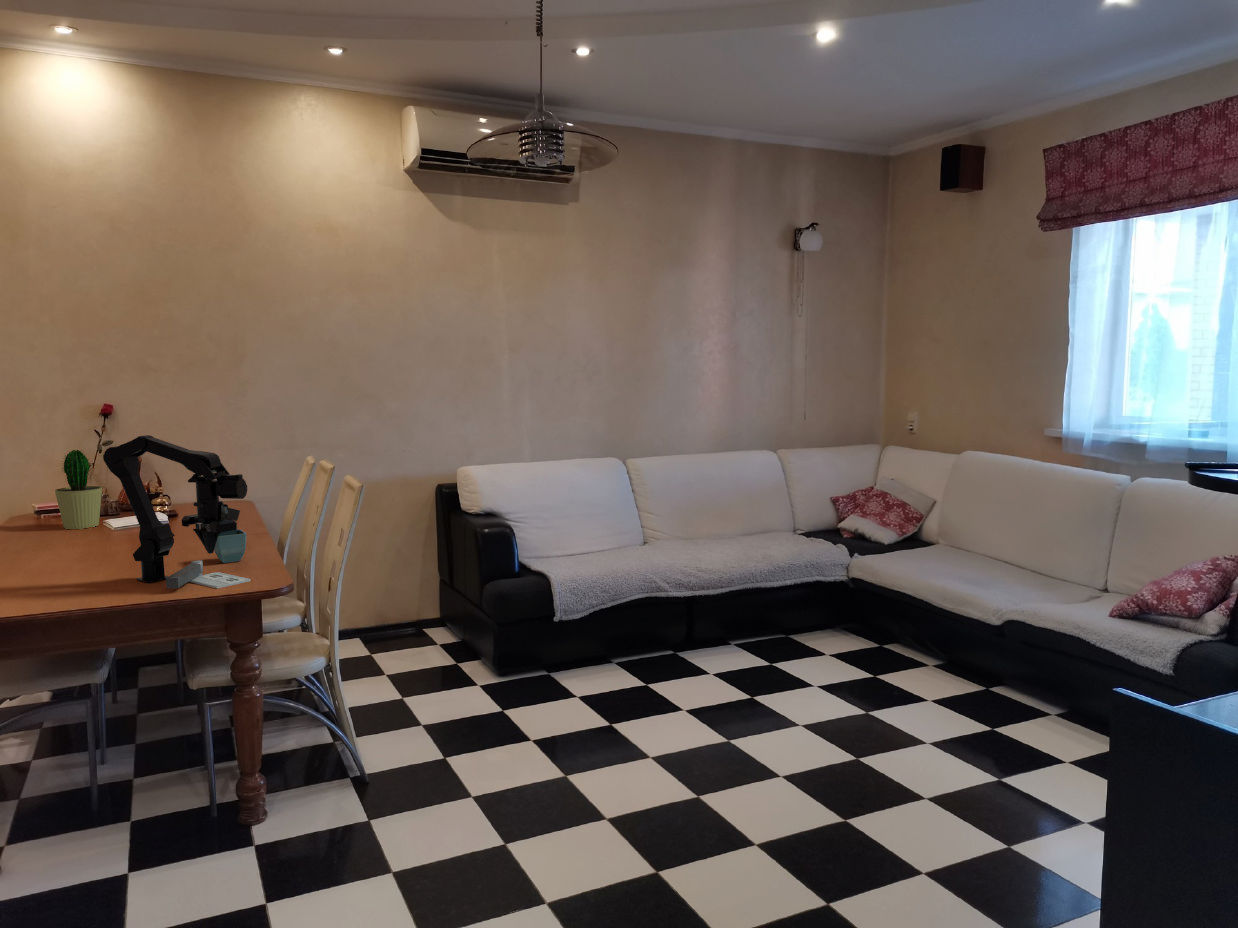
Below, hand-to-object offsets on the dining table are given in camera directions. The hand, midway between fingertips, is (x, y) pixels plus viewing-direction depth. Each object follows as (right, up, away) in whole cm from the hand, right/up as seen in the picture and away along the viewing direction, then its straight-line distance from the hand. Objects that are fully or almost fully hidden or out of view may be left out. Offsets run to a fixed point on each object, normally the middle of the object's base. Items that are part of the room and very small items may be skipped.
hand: (210, 553), depth 249 cm
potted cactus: (-89, +1, +87) cm, 125 cm away
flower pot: (-6, -5, +26) cm, 27 cm away
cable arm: (-6, -7, -2) cm, 9 cm away
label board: (0, -8, +1) cm, 8 cm away
